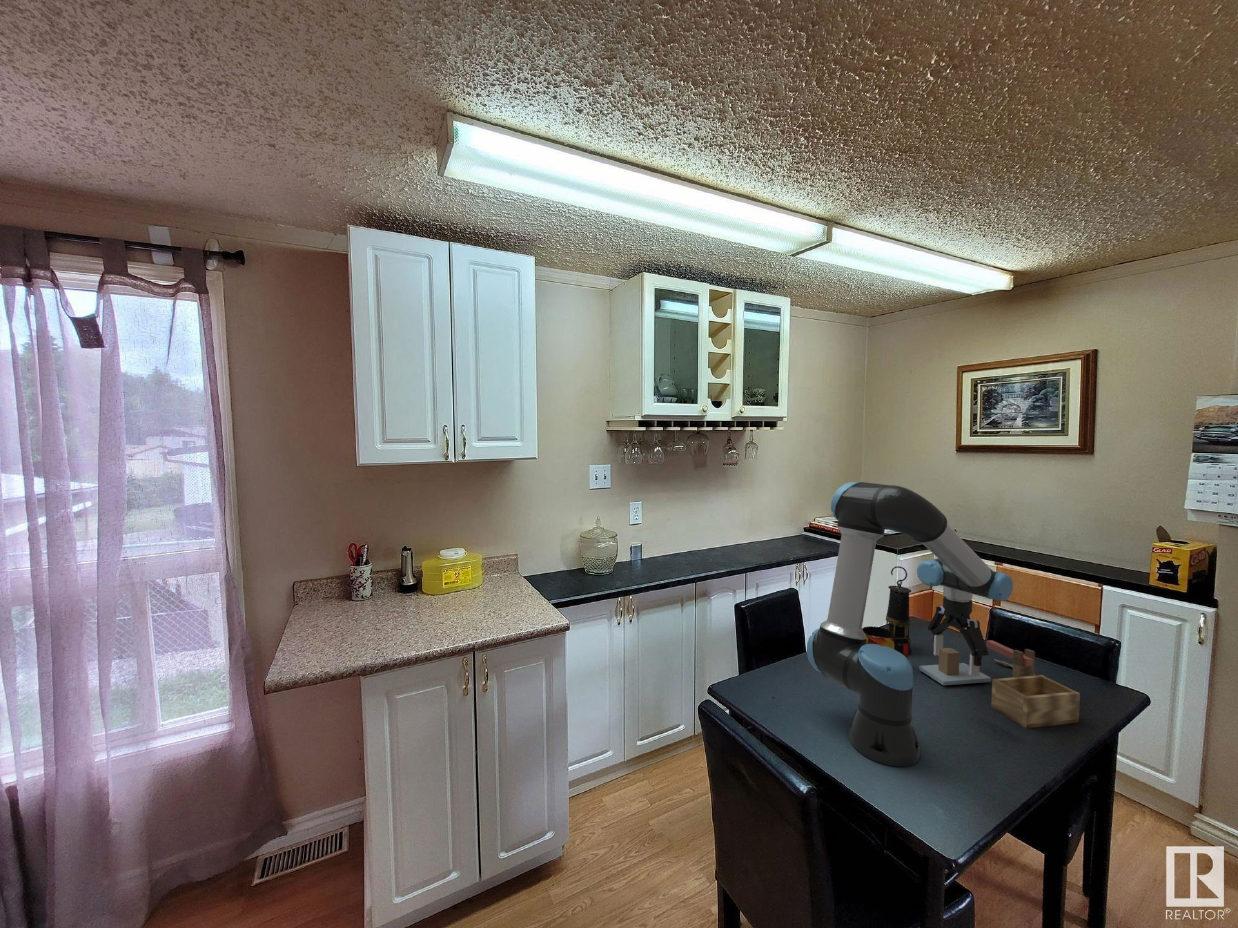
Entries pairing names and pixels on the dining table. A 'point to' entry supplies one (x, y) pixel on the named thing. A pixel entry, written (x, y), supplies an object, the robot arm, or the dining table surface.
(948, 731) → the dining table surface
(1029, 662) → the bar
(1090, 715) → the dining table surface
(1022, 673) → the post
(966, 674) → the lid
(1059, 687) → the open wooden box
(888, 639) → the mug
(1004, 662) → the jawbone
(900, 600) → the lantern
